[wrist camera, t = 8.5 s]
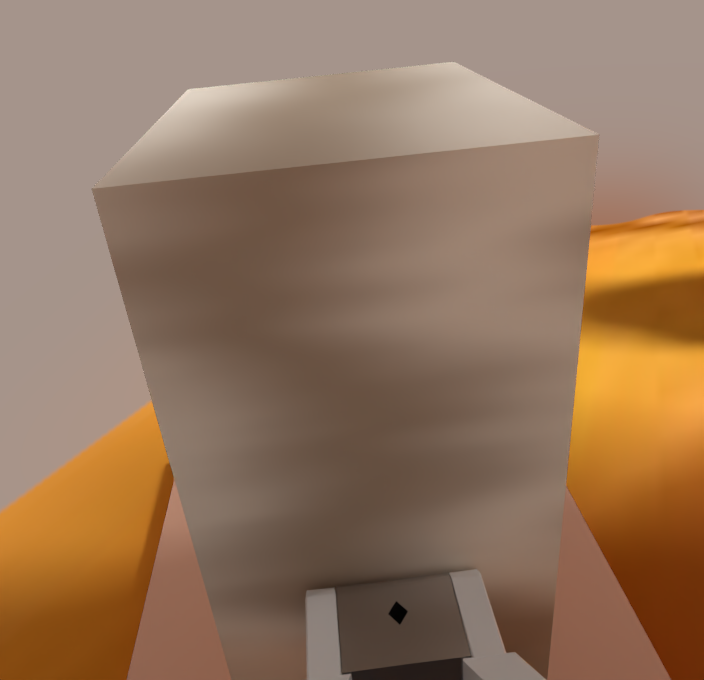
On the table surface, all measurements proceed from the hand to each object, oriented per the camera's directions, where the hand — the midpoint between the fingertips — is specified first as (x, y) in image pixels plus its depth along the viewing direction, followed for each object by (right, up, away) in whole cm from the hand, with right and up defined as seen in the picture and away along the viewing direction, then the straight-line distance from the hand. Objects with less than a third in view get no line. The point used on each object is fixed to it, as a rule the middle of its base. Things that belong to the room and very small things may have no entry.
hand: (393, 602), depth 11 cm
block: (0, -4, +7) cm, 8 cm away
